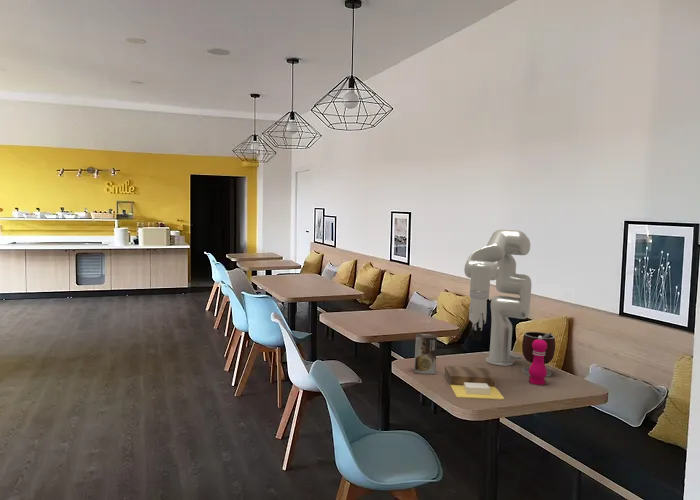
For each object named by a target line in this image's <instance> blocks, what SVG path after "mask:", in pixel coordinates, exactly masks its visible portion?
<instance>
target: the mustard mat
mask: <svg viewBox="0 0 700 500" xmlns="http://www.w3.org/2000/svg"><path fill="white" fill-rule="evenodd" d="M449 387H450V389H452V392H453V393H454V395H455V397H456V398H457V399H458V398H459V399H475V400H476V399H479V400H480V399H481V400H501V401H502V400H506V399H505V397H504V395H502V393H501V392H500V391H499V389H498V388H497V387H496V386H495V387H491V386H489V387H490V395H485V394H466V392H465V390H464V389H463V388H464V385H450V384H449Z"/></svg>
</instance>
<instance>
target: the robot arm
mask: <svg viewBox="0 0 700 500" xmlns="http://www.w3.org/2000/svg"><path fill="white" fill-rule="evenodd" d="M530 240H531V239H529V237H528V236H527V234H526V233H524V232H523V231H521V230H515V229H513V230H512V229H497V230H495V231H493V233H492V234H491V237H490V238H489V240H488V241H487V244H486V246H483V247H481V248H478V249H476V250H474V251H473V252H471V254H470V255H469V256H468V257H467V260H466V261H465V265H464V267H463V268H464V269H463V271H464V275H465V276H466V277H467V278H469V279H470V281H469V282H470V284H469V285H470V286H469V298H470V300H469V301H470V302H469V311H468V312H469V313H468V320H469V321H470V322H471V323H472V340H473V341H482V335H483V333H482V332H483V325H485V324H486V323H487V312H488V311H487V310H488V309H487V308H488V307H487V305H488V304H487V300H490V288H491V287H490V285H491V281H495V289H496V291H497V292H499V293H502V294H507V295H508V294H510V295H518V296H519V297H516V296H515V297H514V296H507V295H495V296H494V297H492V298H491V301H490V312H491V325H490V327H491V328H490V344H489V356H487V357H486V358H485V362H486V363H488V364H490V365H495V366H501V367H507V366H508V367H509V366H513V365H514V361H515V360H516V361H521V360H522V356H521V355H517V354H513V353H512V352H511V351H512V341H513V340H512V337H513V325H512V322H511V321H510V319H509V318H512V319H513V318H514V319H519V320H520V319H521V320H525V319H527V318H528V317H529V315H530V309H531V299H532V297H531V296H532V279H531V277H530V276H529V275H526V274H522V273H521V274H520V273H517V271H516V270H517V261H516V260H515V258H514V256H527V255H528V254H529V252H530V250H531V241H530ZM513 255H514V256H513Z"/></svg>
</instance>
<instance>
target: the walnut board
mask: <svg viewBox="0 0 700 500" xmlns="http://www.w3.org/2000/svg"><path fill="white" fill-rule="evenodd" d="M444 377H445V379H446V380H447V382H448V384H449V386H450V385H464V382H467V383H487V385H488V386H491V387H496V376H494V374H493V373H492V372H491V371H490V370H489V368H487V367H477V366H476V367H475V366H472V367H471V366H452V365H445V366H444Z"/></svg>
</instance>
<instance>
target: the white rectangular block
mask: <svg viewBox="0 0 700 500" xmlns="http://www.w3.org/2000/svg"><path fill="white" fill-rule="evenodd" d="M463 389H464V390H465V392H466V394H485V395H490V387H489V386H488V385H487V383H467V382H464V388H463Z"/></svg>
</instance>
